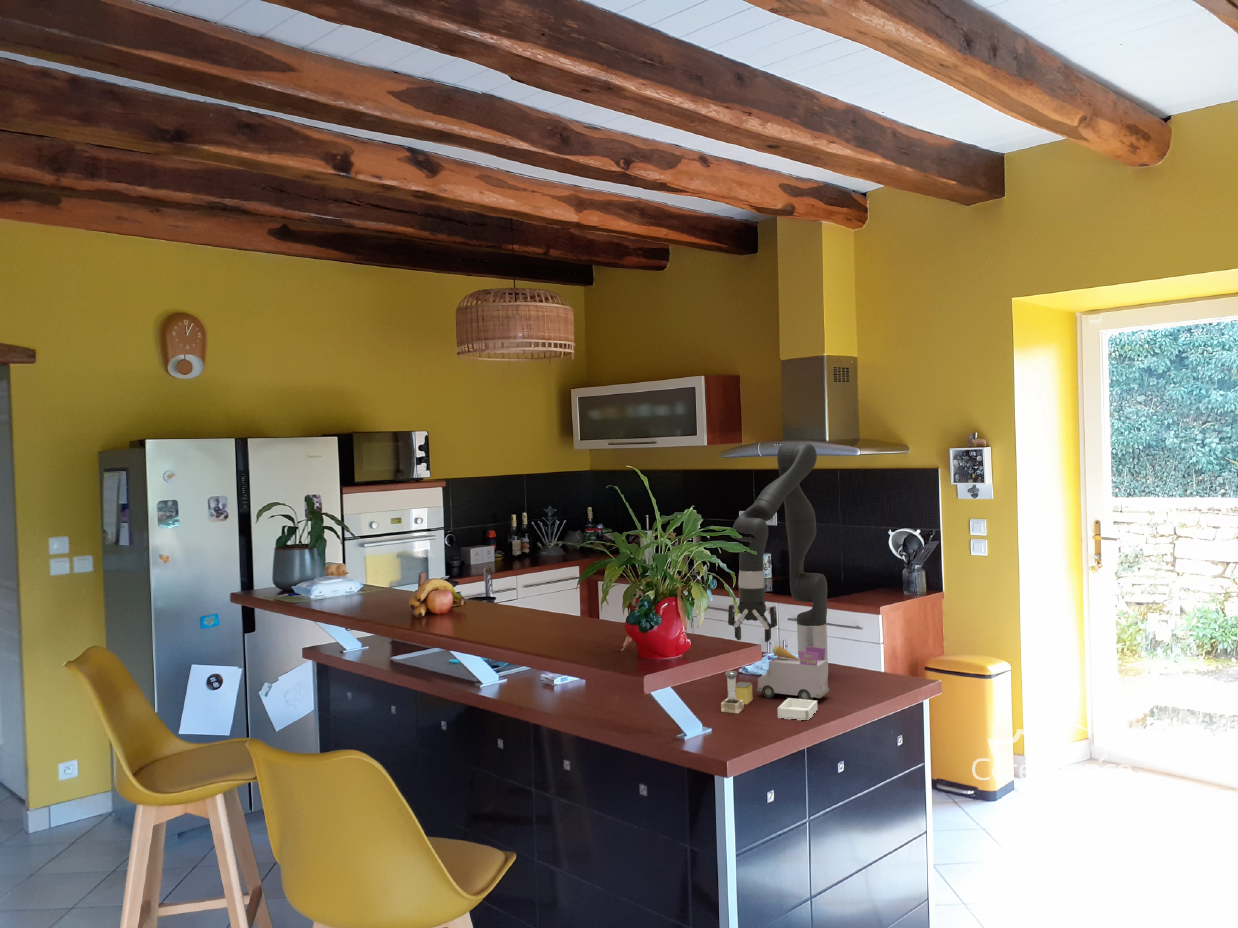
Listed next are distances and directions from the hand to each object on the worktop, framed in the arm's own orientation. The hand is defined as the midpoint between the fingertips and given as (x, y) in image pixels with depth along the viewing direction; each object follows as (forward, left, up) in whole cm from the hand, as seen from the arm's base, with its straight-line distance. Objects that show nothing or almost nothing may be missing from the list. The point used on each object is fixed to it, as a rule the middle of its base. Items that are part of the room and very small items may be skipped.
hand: (752, 640), depth 273 cm
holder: (+12, -3, -17) cm, 21 cm away
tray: (+10, +16, -17) cm, 26 cm away
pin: (+12, -3, -17) cm, 21 cm away
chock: (+3, -3, -17) cm, 18 cm away
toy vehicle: (-6, +10, -18) cm, 21 cm away
